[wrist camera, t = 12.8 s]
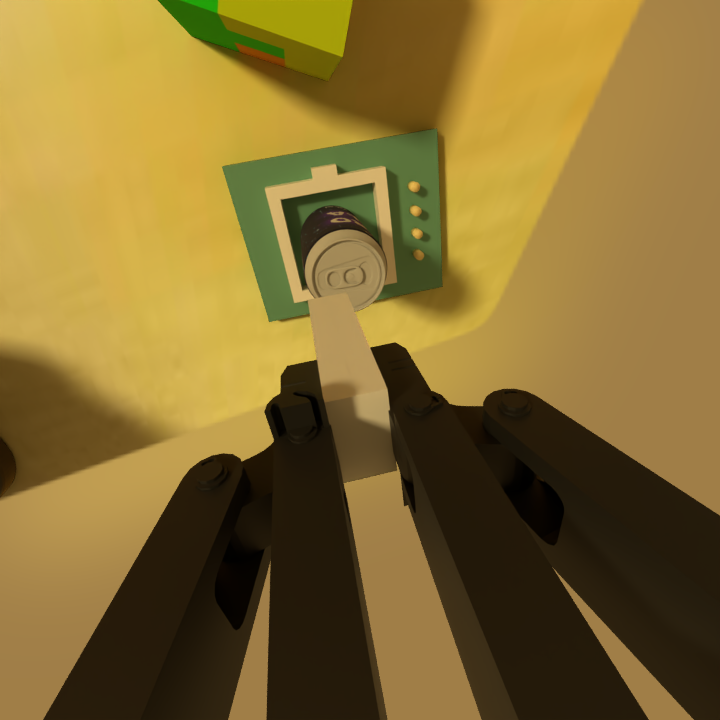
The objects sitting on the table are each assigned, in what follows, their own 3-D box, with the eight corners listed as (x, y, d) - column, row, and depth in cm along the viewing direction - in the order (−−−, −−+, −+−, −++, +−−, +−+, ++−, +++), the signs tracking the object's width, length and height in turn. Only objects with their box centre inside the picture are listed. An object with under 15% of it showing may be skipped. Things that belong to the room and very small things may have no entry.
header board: (270, 317, 38) (268, 328, 36) (224, 165, 31) (219, 167, 29) (438, 282, 39) (447, 291, 37) (432, 128, 32) (443, 127, 30)
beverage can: (364, 262, 36) (394, 310, 26) (306, 272, 35) (312, 324, 25) (358, 199, 33) (388, 225, 23) (294, 208, 33) (295, 239, 22)
